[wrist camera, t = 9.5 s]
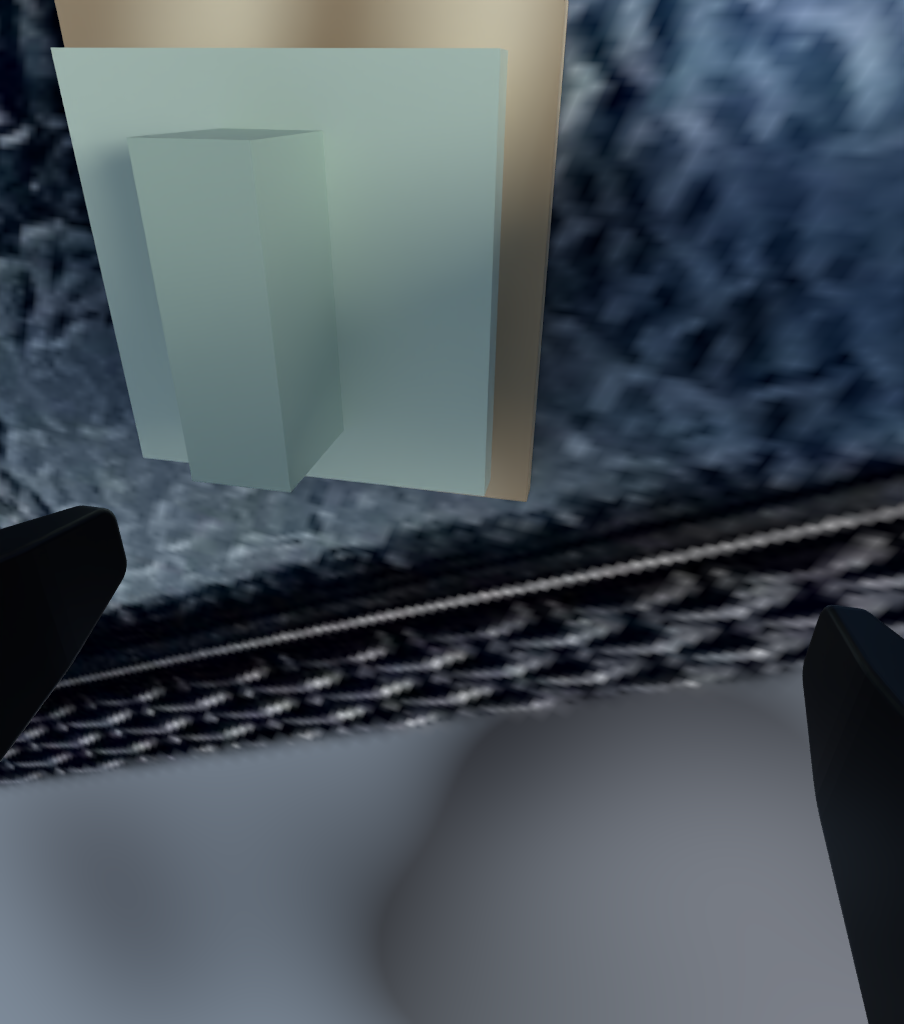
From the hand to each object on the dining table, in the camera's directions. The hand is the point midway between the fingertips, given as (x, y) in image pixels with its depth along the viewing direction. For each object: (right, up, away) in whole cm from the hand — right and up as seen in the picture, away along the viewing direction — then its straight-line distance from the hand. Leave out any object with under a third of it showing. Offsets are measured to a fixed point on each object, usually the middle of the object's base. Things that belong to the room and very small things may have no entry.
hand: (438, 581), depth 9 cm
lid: (-3, +7, +10) cm, 13 cm away
